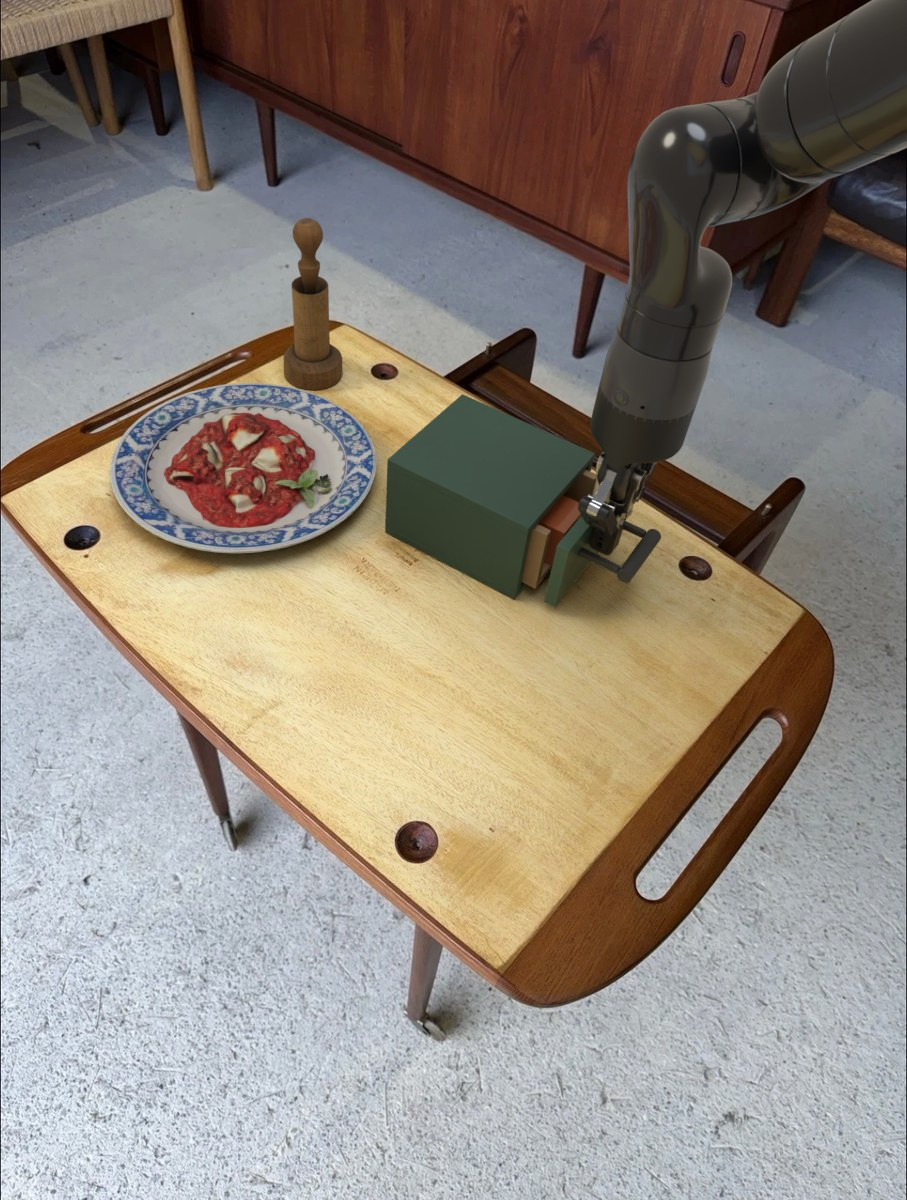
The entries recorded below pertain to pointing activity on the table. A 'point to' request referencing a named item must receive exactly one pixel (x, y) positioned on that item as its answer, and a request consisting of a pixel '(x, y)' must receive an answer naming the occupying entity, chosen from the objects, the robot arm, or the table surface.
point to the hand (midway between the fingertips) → (602, 547)
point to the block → (559, 523)
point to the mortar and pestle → (311, 318)
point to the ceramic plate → (243, 468)
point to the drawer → (580, 550)
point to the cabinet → (478, 490)
